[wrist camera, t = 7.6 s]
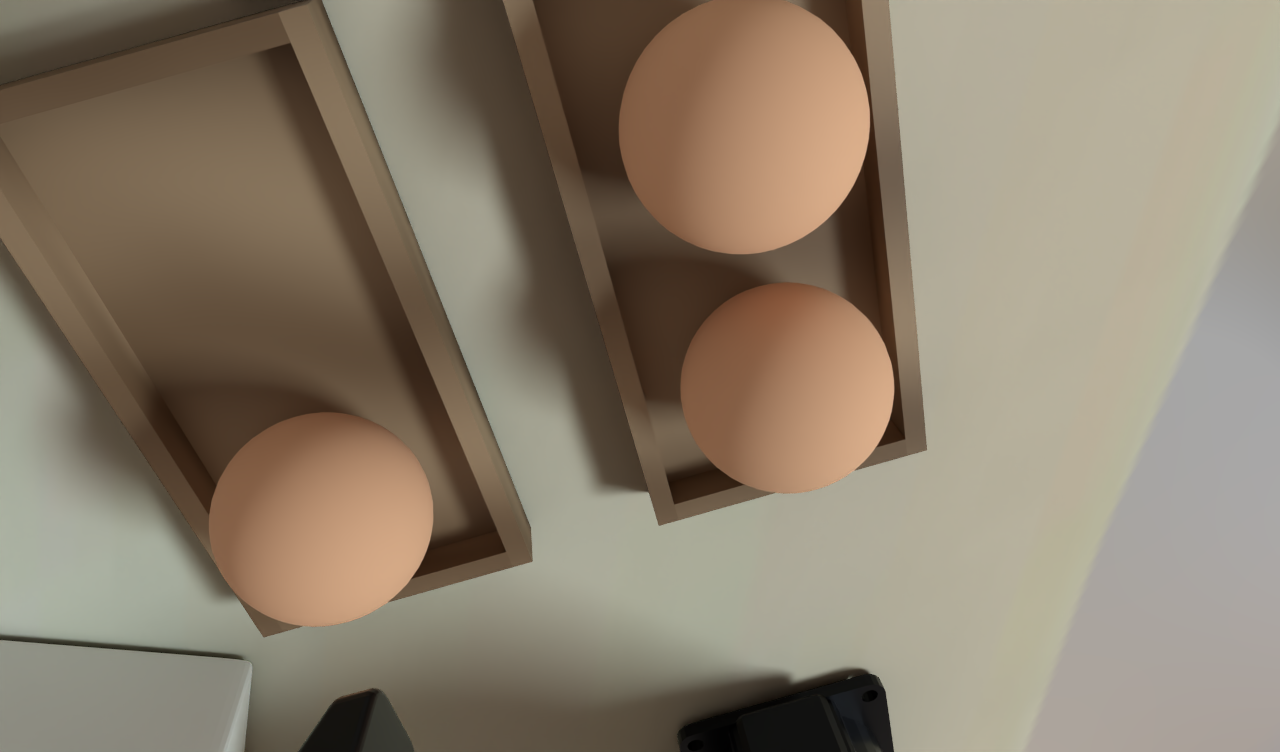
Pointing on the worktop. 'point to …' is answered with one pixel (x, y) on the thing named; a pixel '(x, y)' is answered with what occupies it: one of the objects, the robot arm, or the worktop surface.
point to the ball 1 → (321, 519)
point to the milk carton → (120, 700)
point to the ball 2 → (744, 125)
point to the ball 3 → (787, 387)
